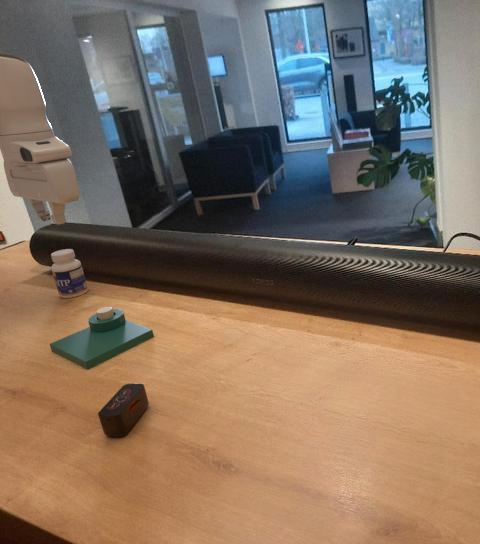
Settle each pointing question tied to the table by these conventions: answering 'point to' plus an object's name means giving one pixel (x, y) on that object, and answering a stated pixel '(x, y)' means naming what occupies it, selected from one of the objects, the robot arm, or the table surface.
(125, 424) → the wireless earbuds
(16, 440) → the table surface
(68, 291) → the pill bottle
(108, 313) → the button
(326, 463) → the table surface
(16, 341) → the table surface
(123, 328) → the scale
